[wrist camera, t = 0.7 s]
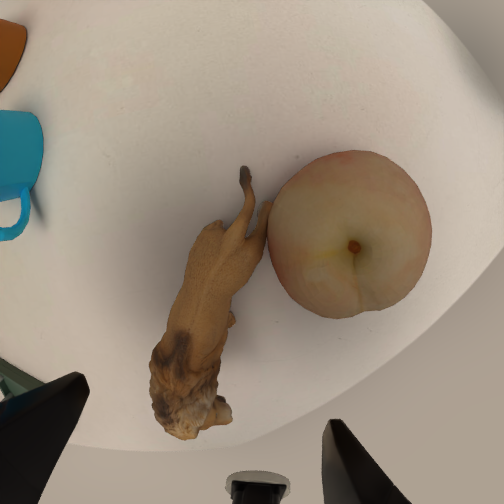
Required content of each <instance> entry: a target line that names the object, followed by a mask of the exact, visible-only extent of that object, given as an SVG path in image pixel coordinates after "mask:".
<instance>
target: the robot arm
mask: <svg viewBox="0 0 504 504" xmlns="http://www.w3.org/2000/svg"><path fill="white" fill-rule="evenodd" d="M89 393H90V389H89V386H88V383H87V380H86V378H85V376H84V374H81V373H79V372H72V373H70V374H68V375H65V376H63V377H61V378H58V379H56V380H53V381H51V382H49V383H46V384H44V385H42V386H39V387H37V388H34V389H32V390H29V391H27V392H25V393H22V394H20V395H17V396H15V397H12V398H10V399H7V400H4V401H2V402H0V504H38V502H39V500H40V497H41V494H42V492H43V490H44V488H45V486H46V483H47V482H48V479H49V477H50V475H51V473H52V471H53V469H54V467H55V465H56V463H57V461H58V459H59V457H60V455H61V453H62V451H63V449H64V447H65V445H66V444H67V442H68V440H69V438H70V436H71V434H72V432H73V430H74V428H75V427H76V425H77V423H78V420H79V418H80V415H81V413H82V411H83V408H84V406H85V403H86V401H87V399H88V396H89ZM322 484H323V494H324V504H412V503H411V502H410V501H409V500H407V498H406V497H405V496H404V495H403V494H402V493H401V492H400V491H399V489H398V488H397V487H396V486H395V485H394V484H393V482H392V481H391V480H390V479H389V478H388V476H387V475H386V474H385V473H384V472H383V470H382V469H381V468H380V467H379V466H378V464H377V463H376V462H375V461H374V459H373V458H372V457H371V456H370V455H369V453H368V452H367V451H366V450H365V448H364V447H363V446H362V445H361V443H360V442H359V441H358V440H357V438H356V437H355V436H354V435H353V434H352V432H351V431H350V430H349V428H348V427H347V426H346V424H345V423H344V422H343V421H342V420H341V419H330V420H329V421H328V423H327V425H326V427H325V430H324V432H323V437H322ZM393 485H394V486H393ZM286 489H287V485H285V484H270V483H257V482H246V481H238V480H233V481H232V483H231V499H232V500H233V502H232V504H280V501H281V499H282V497H283V495H284V493H285V491H286Z"/></svg>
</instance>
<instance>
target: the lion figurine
mask: <svg viewBox="0 0 504 504" xmlns="http://www.w3.org/2000/svg"><path fill="white" fill-rule="evenodd" d="M251 178H252V177H251V175H250V171H249V169H248V167H247V166H242V167H241V168H240V185H241V187H242V189H243V192H244V195H245V202H244V206H243V208H242V210H241V212H240V213H239V215H238V216H237V218H236V220H235V221H234V222H233V224H232V225H231V226H230V227H229V228H228V229H227V230H225V229H224V228H223V222H222V221H221V220H217V221H215V222H214V223H212V224H209V225H208V226H206V227H205V228H204V229H203V230H202V231H201V233H200V234H199V235H198V237H197V239H196V241H195V243H194V244H193V246H192V248H191V250H190V253H189V258H188V262H187V266H186V270H185V276H184V282H183V285H182V288H181V289H180V291H179V293H178V295H177V297H176V300H175V302H174V304H173V306H172V308H171V311H170V314H169V318H168V322H167V329H166V332H165V333H164V335H163V337H162V339H161V341H160V342H159V343H158V344H157V345H156V347H155V348H154V349H153V352H152V356H151V361H150V362H149V368H150V372H151V379H150V386H151V387H150V389H149V392H150V396H151V398H152V401H153V403H152V408H153V410H154V411H155V413H154V416H155V418H156V420H157V421H158V422H159V423H160V424H161V425H162V426H163V427H164V429H165V432H168V433H169V434H171V435H172V436H175V437H176V438H178V439H181V440H187V439H195V438H196V437H197V435H198V433H199V430H206V429H208V428H209V427H211V426H214V425H227V424H229V423H231V422H232V420H233V418H232V416H231V414H232V410H231V408H230V406H229V405H228V404H227V403H226V399H225V398H224V397H223V396H219V395H217V387H218V381H217V376H218V374H219V371H220V364H221V359H220V356H221V354H222V352H223V347H224V345H225V342H226V339H227V334H228V330H227V328H230V327H232V326H233V325H234V324H235V323H236V321H235V318H234V316H233V314H232V313H231V312H229V310H230V306H231V299H232V296H233V295H234V294H235V293H236V292H237V291H238V290H239V289H240V288H242V287H243V286H244V285H245V284H246V283H247V282H248V280H249V278H250V277H251V275H252V273H253V271H254V269H255V267H256V266H257V264H258V263H259V262H260V260H261V259H262V256H263V251H264V247H265V244H266V239H267V227H268V218H269V214H270V211H271V209H272V206H273V203H271V202H269V201H264V202H263V203H262V204H261V205H260V206H259V208H258V211H257V217H258V221H257V225H256V228H255V229H254V230H253V232H252V233H251V234H250V235H249V236H248V237H246V238H245V235H246V231H247V228H248V225H249V223H250V220H251V218H252V215H253V212H254V208H255V196H254V193H253V190H252V187H251Z"/></svg>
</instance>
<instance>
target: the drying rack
mask: <svg viewBox="0 0 504 504" xmlns="http://www.w3.org/2000/svg"><path fill="white" fill-rule="evenodd" d="M44 384H45V383H43V382H41V381H39V380H37V379H35V378H33V377H31V376H30V375H28V374H26V373H24V372H23V371H21V370H19V369H17V368H16V367H14V366H12V365H11V364H9V363H8V362H6V361H4V360H3V359H1V358H0V389H1V391H2V393H3V395H4V397H5V398H4V399H3V400H2V401H4V400H7V399H10V398H12V397H15V396H17V395H20V394H22V393H25V392H27V391H29V390H32V389H34V388H37V387H39V386H42V385H44ZM2 401H1V402H2Z"/></svg>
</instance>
